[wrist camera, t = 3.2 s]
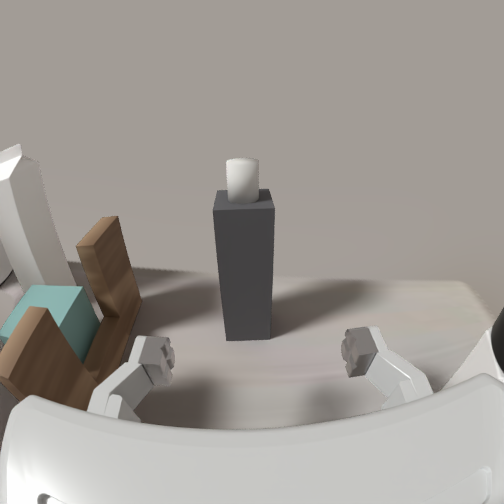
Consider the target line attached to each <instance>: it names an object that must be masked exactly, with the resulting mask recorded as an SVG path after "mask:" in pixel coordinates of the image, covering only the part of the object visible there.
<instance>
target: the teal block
mask: <svg viewBox="0 0 504 504" xmlns="http://www.w3.org/2000/svg"><path fill="white" fill-rule="evenodd" d="M29 306H35V307H44V308H48V309H49V311H50V313H51V315H52V317H53V318H54V320H55V322H56V324H57V325H58V327H59V329H60V330H61V332H62V333H63V335H64V337H65V338H66V340H67V341H68V343H69V345H70V346H71V348H72V349H73V351H74V352H75V354H76V355H77V356H78V358H79V359H80V361H81V362H82V364H84V361H85V359H86V356H87V354H88V352H89V349H90V347H91V345H92V342H93V340H94V338H95V335H96V333H97V331H98V329H99V327H100V322H99V320H98V318H97V316H96V314H95V312H94V310H93V308H92V305H91V303H90V301H89V299H88V297H87V294H86V292H85V290H84V287H83V286H51V285H31V287H30V288H29V289H28V291H27V292H26V293H25V295H24V296H23V297H22V299H21V300H20V301H19V303H18V304H17V306H16V307H15V309H14V310H13V311H12V313H11V314H10V316H9V317H8V319H7V320H6V322H5V323H4V325H3V326H2V328H1V330H0V339H1V340H2V342H3V343H4V345H5V344H6V342H7V340H8V339H9V337H10V335H11V334H12V332H13V330H14V329H15V327H16V326H17V324H18V322H19V321H20V319H21V318H22V316H23V315H24V313H25V312H26V310H27V309H28V307H29Z"/></svg>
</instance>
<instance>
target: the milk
mask: <svg viewBox="0 0 504 504" xmlns="http://www.w3.org/2000/svg"><path fill="white" fill-rule="evenodd" d="M0 239H1V241H2V244H3V247H4V249H5V252H6V254H7V257H8V259H9V261H10V264H11V266H12V268H13V270H14V273H15V275H16V277H17V279H18V281H19V283H20V285H21V287H22V289H23V291H24V293H26V292H27V291H28V289H29V288H30V287H31V285H51V286H77V285H76V282H75V280H74V278H73V275H72V273H71V270H70V268H69V265H68V263H67V260H66V257H65V255H64V252H63V249H62V247H61V244H60V241H59V238H58V235H57V232H56V229H55V225H54V222H53V219H52V215H51V212H50V208H49V204H48V201H47V197H46V193H45V189H44V184H43V180H42V175H41V170H40V165H39V162H38V161H35V160H33V159H31V158H28V157H26V156H24V155H23V154H22V149H21V145H20V144H17V145H15V146H13V147H10V148H8V149H6V150H4V151H2V152H0Z"/></svg>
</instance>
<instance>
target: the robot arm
mask: <svg viewBox="0 0 504 504" xmlns="http://www.w3.org/2000/svg"><path fill="white" fill-rule="evenodd" d="M12 269H13V268H12V266H11V264H10V261H9V259H8V257H7V254H6V252H5V249H4V247H3V244H2V241H1V239H0V284H1V283H2V282H3V281H4V280H5V279H6V278H7V277H8V275H9V274H10V273H11V271H12ZM345 337H346V338H345V339H344V340H343V341H342V345H341V353H342V357H343V359H344V360H345V361H346V362H347V364H346V366H345V367H346V370H347V373H348V377H349V378H350V377H357V376H363V375H365V377H366V378H367V379H368V380H369V381H370V382H371V383H372V384H373V385H374V386H376V387H377V388H378V389H379V390H380V391H381V392H382V393H383V394H384V395H385V396H386V397H387V398H388V399H387V400H386V402H385V403H384V404H383V405H382V407H381V409H382V410H380V411H376V412H372V413H368V414H363V415H359V416H354V417H349V418H344V419H339V420H333V421H328V422H321V423H314V424H307V425H299V426H289V427H278V428H263V429H198V428H183V427H172V426H162V425H154V424H147V423H140V421H141V420H140V418H139V417H138V416H137V415H136V414H135V413H134V411H133V410H134V409H135V408H136V407H137V405H138V404H139V403H140V402H141V401H142V400H143V398H144V397H145V396H146V395H147V394H148V392H149V391H150V390H151V389H152V388H153V387H154V386H153V385H157V386H171V380H172V372H171V369H172V368H173V367H174V363H175V355H174V350H173V348H172V347H170V343H171V342H170V340H169V338H168V337H153V336H139V335H138V336H137V337H136V339H135V342H134V345H133V348H132V351H131V354H130V357H129V361H128V362H125V363H124V364H123V365H122V366H120V367H119V368H118V369H117V370H116V371H115V372H114V373H112V374H111V375H110V376H109V377H108V378H107V379H106V380H104V381H103V382H102V383H101V384H100V385H99V386H97V387H96V388H95V389H94V390H93V393H92V396H91V400H90V403H89V406H88V409H87V411H83V410H79V409H76V408H72V407H69V406H66V405H62V404H59V403H56V402H53V401H50V400H47V399H45V398H42V397H39V396H36V395H30V396H28V397H26V398H25V399H24V400H22V401H21V402H20V403H18V404H17V405H16V406H15V407H14V408H13V409H12V411H11V413H10V416H9V419H8V422H7V426H6V429H5V433H4V438H3V442H2V447H1V453H0V504H504V383H502V382H501V381H499V380H497V379H496V378H494V377H492V376H491V375H489V374H486V373H480V374H478V375H476V376H474V377H472V378H470V379H468V380H465V381H463V382H461V383H459V384H456V385H454V386H452V387H449V388H447V389H444V390H442V391H439V392H436V393H433V391H432V388H431V386H430V384H429V382H428V379H427V377H426V375H425V374H424V373H423V372H422V371H420V370H419V369H417V368H416V367H415V366H413V365H412V364H410V363H409V362H408V361H406V360H405V359H403V358H402V357H401V356H399V355H398V354H396V353H395V352H394V351H392V350H389V349H388V347H387V345H386V343H385V341H384V339H383V336H382V334H381V332H380V330H379V328H378V327H377V326H369V327H360V328H353V329H347V330H346V332H345Z"/></svg>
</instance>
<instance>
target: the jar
mask: <svg viewBox="0 0 504 504" xmlns="http://www.w3.org/2000/svg"><path fill="white" fill-rule="evenodd" d="M480 373H486V374H489V375H491V376H492V377H494V378H496V379H497V380H499V381H501V382H502V383H504V308H503V309H502V311H501V313H500V315H499V316H498V318H497V320H496V321H495V323H494V325H493V326H492V327H490V328H489V329H487V330H486V331H485V332H484V334H483V336H482V337H481V339H480V340H479V341H478V343H477V344H476V346H475V347H474V349H473V350H472V351H471V353H470V354H469V356H468V357H467V358H466V360H465V361H464V362H463V364H462V365H461V366H460V367H459V369H458V370H457V371H456V373H455V374H454V375H453V376H452V377H451V379H450V380H449V381H448V382H447V383H446V385H445V386H444V387H443V388H442V389H441V390H440V391H442V390H444V389H447V388H449V387H452V386H454V385H456V384H459V383H461V382H463V381H465V380H468V379H470V378H472V377H474V376H476V375H478V374H480Z"/></svg>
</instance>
